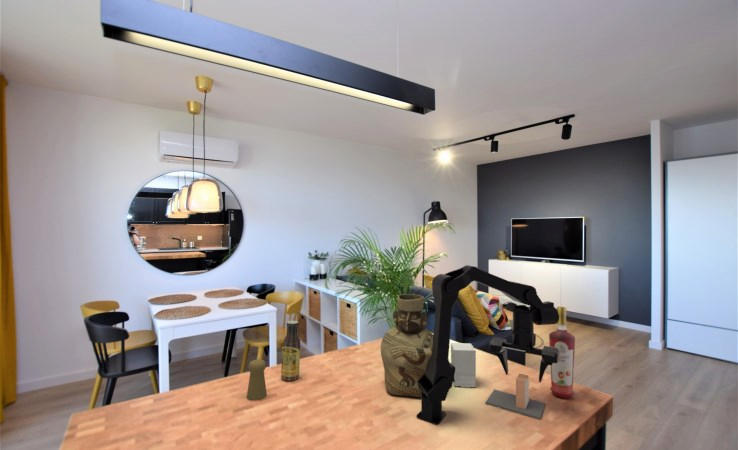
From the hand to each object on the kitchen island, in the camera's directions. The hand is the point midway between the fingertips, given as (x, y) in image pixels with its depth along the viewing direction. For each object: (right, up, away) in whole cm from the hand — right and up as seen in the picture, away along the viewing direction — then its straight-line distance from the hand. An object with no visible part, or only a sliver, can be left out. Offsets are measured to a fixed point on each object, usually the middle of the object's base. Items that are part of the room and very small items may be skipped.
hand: (523, 377), depth 102 cm
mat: (-2, -8, +1) cm, 9 cm away
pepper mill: (-82, -8, +5) cm, 82 cm away
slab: (0, -8, 0) cm, 8 cm away
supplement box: (-14, -9, +15) cm, 23 cm away
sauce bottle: (-74, -8, +18) cm, 77 cm away
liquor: (+16, -9, +7) cm, 19 cm away
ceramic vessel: (-33, -9, +13) cm, 36 cm away
